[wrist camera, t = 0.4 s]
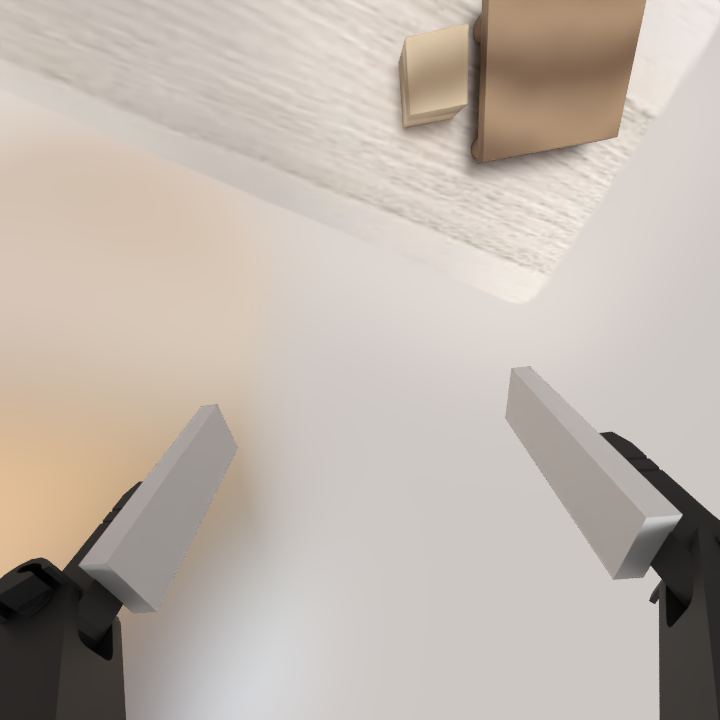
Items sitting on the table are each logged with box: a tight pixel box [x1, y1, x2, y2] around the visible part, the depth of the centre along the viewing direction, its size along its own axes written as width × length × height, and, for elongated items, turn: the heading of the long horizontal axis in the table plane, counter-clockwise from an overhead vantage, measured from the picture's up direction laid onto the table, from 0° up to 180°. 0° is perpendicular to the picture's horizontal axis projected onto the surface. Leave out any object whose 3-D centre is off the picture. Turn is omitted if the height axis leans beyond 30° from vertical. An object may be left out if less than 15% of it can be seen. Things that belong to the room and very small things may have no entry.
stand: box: [471, 0, 646, 163], centre depth 26 cm, size 12×12×5 cm
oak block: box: [399, 23, 468, 128], centre depth 27 cm, size 5×5×5 cm
